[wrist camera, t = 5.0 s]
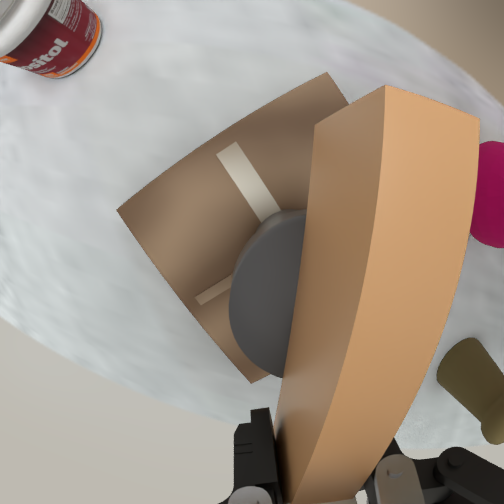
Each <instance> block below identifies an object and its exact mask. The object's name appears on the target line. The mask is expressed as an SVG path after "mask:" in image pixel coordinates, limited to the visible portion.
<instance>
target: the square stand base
mask: <svg viewBox="0 0 504 504" xmlns="http://www.w3.org/2000/svg"><path fill="white" fill-rule="evenodd" d="M348 105H349V104H348V102H347V101H346V99H345V98H344V96H343V94H342V93H341V91H340V90H339V88H338V87H337V85H336V84H335V83H334V81H333V80H332V78H331V77H330V75H329V74H328V72H326V73H324V74H322V75H320V76H318V77H316V78H314V79H312V80H310V81H308V82H306V83H304V84H302V85H301V86H299V87H297V88H295V89H293V90H291V91H289V92H288V93H286V94H284V95H282V96H280V97H279V98H277V99H275V100H273V101H272V102H270V103H268V104H266V105H265V106H263V107H261V108H260V109H258V110H256V111H254V112H253V113H251V114H249V115H248V116H246V117H245V118H243V119H241V120H240V121H238V122H237V123H235V124H233V125H232V126H230V127H229V128H227V129H225V130H224V131H222V132H221V133H219V134H218V135H216V136H215V137H213V138H212V139H210V140H209V141H207V142H206V143H204V144H203V145H201V146H200V147H198V148H197V149H195V150H194V151H193V152H191V153H190V154H188V155H187V156H185V157H184V158H183V159H181V160H180V161H178V162H177V163H176V164H174V165H173V166H172V167H170V168H169V169H168V170H166V171H165V172H163V173H162V174H161V175H159V176H158V177H157V178H156V179H154V180H153V181H152V182H150V183H149V184H148V185H146V186H145V187H144V188H143V189H141V190H140V191H139V192H138V193H136V194H135V195H134V196H132V197H131V198H130V199H129V200H128V201H126V202H125V203H124V204H123V205H121V206H120V207H119V208H118V209H117V212H118V213H119V215H120V216H121V218H122V219H123V221H124V222H125V224H126V225H127V227H128V228H129V230H130V231H131V233H132V234H133V235H134V237H135V238H136V240H137V241H138V243H139V244H140V245H141V247H142V248H143V250H144V251H145V253H146V254H147V255H148V257H149V258H150V259H151V261H152V262H153V264H154V265H155V266H156V268H157V269H158V270H159V272H160V273H161V274H162V276H163V277H164V279H165V280H166V281H167V283H168V284H169V285H170V286H171V288H172V289H173V290H174V292H175V293H176V294H177V296H178V297H179V298H180V299H181V301H182V302H183V303H184V305H185V306H186V307H187V308H188V310H189V311H190V312H191V313H192V315H193V316H194V317H195V318H196V320H197V321H198V322H199V323H200V325H201V326H202V327H203V328H204V330H205V331H206V332H207V333H208V334H209V336H210V337H211V338H212V339H213V340H214V342H215V343H216V344H217V345H218V346H219V348H220V349H221V350H222V351H223V352H224V353H225V355H226V356H227V357H228V358H229V359H230V360H231V362H232V363H233V364H234V365H235V366H236V367H237V368H238V370H239V371H240V372H241V373H242V374H243V375H244V376H245V377H246V378H247V380H248V381H249V382H250V383H254V382H256V381H258V380H260V379H262V378H264V377H266V376H268V375H270V373H268V372H266V371H264V370H263V369H261V368H259V367H258V366H257V365H255V364H254V363H253V362H252V361H251V360H250V359H249V358H248V357H247V356H246V355H245V354H244V353H243V351H242V350H241V349H240V347H239V346H238V344H237V342H236V340H235V338H234V336H233V333H232V330H231V326H230V320H229V298H230V291H231V283H232V276H233V271H234V267H235V264H236V261H237V259H238V257H239V254H240V253H241V251H242V249H243V248H244V246H245V244H246V243H247V242H248V241H249V239H250V238H251V237H252V236H253V235H254V234H255V233H256V232H257V231H258V230H259V229H260V228H261V227H263V226H264V225H266V224H267V223H268V222H270V221H272V220H273V219H275V218H277V217H279V216H281V215H284V214H287V213H289V212H293V211H297V210H303V209H307V205H308V196H309V186H310V176H311V165H312V153H313V141H314V128H315V124H317V123H319V122H320V121H322V120H324V119H325V118H327V117H329V116H330V115H332V114H334V113H336V112H337V111H339V110H341V109H342V108H344V107H346V106H348Z"/></svg>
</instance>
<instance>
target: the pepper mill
mask: <svg viewBox="0 0 504 504" xmlns="http://www.w3.org/2000/svg"><path fill="white" fill-rule="evenodd" d="M470 233H471V234H472V236H473V237H474V238H476V239H477V240H478V241H479V242H481V243H483V244H485V245H489V246H492V247H496V248H504V143H502V142H496V141H488V142H485V143H481V144H479V159H478V172H477V183H476V192H475V200H474V207H473V214H472V220H471V226H470Z"/></svg>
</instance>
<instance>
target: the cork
mask: <svg viewBox="0 0 504 504" xmlns="http://www.w3.org/2000/svg"><path fill="white" fill-rule="evenodd" d="M437 381H438V382H439V384H440V385H441V386H443V387H444V388H445V389H446V390H447V391H448V392H449V393H450V394H451V395H452V396H453V397H454V398H456V399H457V400H458V401H459V402H460V403H461V404H462V405H463V406H464V407H465V408H466V409H467V410H468V411H470V412H471V413H472V414H473V415H474V416H475V417H476V418H477V419H478V420H479V421H480V422H481V431H482V434H483V436H484V438H485V439H486V441H488V442H489V443H490V444H494V445H498V444H501V443H504V375H503V373H502V372H501V370H500V369H499V367H498V366H497V365H496V363H495V362H494V361H493V359H492V358H491V356H490V355H489V354H488V352H487V351H486V350H485V348H484V347H483V346H482V344H481V343H480V342H479V341H478V340H477V339H475V338H467V339H464V340H462V341H460V342H459V343H457V344H456V345H455V346H454V347H453V348H452V349H451V350H450V351H448V353H447V354H446V355H445V357H444V358H443V359H442V361H441V363H440V365H439V367H438V371H437Z"/></svg>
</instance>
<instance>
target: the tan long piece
mask: <svg viewBox="0 0 504 504" xmlns="http://www.w3.org/2000/svg"><path fill="white" fill-rule="evenodd" d="M479 135H480V119H479V118H477V117H474V116H472V115H470V114H468V113H465V112H463V111H461V110H458V109H456V108H453V107H451V106H448V105H446V104H443V103H440V102H438V101H435V100H432V99H429V98H426V97H423V96H421V95H418V94H414V93H411V92H408V91H405V90H402V89H398V88H395V87H392V86H388V85H384V86H382V87H380V88H378V89H376V90H375V91H373V92H371V93H369V94H367V95H365V96H364V97H362V98H360V99H358V100H356V101H355V102H353V103H351V104H349V105H348V106H346V107H344V108H342V109H341V110H339V111H337V112H336V113H334V114H332V115H330V116H329V117H327V118H325V119H324V120H322V121H320V122H319V123H317V124H315V128H314V141H313V153H312V165H311V176H310V186H309V196H308V205H307V209H303V210H297V211H293V212H289V213H287V214H284V215H281V216H279V217H277V218H275V219H273V220H272V221H270V222H268V223H267V224H266V225H264V226H263V227H261V228H260V229H259V230H258V231H257V232H256V233H255V234H254V235H253V236H252V237H251V238H250V239H249V241H248V242H247V243H246V244H245V246H244V248H243V249H242V251H241V253H240V254H239V257H238V259H237V261H236V264H235V267H234V271H233V276H232V283H231V291H230V298H229V320H230V326H231V330H232V333H233V336H234V338H235V340H236V342H237V344H238V346H239V347H240V349H241V350H242V351H243V353H244V354H245V355H246V356H247V357H248V358H249V359H250V360H251V361H252V362H253V363H254V364H255V365H257V366H258V367H259V368H261V369H263V370H264V371H266V372H268V373H270V374H272V375H275V376H277V377H280V378H283V380H282V385H281V390H280V396H279V401H278V406H277V411H276V416H275V421H274V426H273V427H274V434H275V440H276V448H277V456H278V464H279V472H280V480H281V488H282V496H283V504H357V501H356V498H355V495H356V494H357V492H358V491H359V490H360V488H361V487H362V486H363V484H364V483H365V481H366V480H367V479H368V477H369V476H370V474H371V473H372V471H373V470H374V468H375V467H376V465H377V464H378V462H379V461H380V459H381V457H382V456H383V454H384V453H385V451H386V449H387V448H388V446H389V445H390V443H391V441H392V439H393V438H394V436H395V434H396V433H397V431H398V429H399V427H400V425H401V424H402V422H403V420H404V418H405V416H406V414H407V412H408V410H409V408H410V406H411V405H412V403H413V401H414V398H415V396H416V394H417V392H418V390H419V388H420V386H421V384H422V382H423V379H424V377H425V375H426V373H427V370H428V368H429V366H430V363H431V361H432V358H433V356H434V353H435V351H436V348H437V346H438V343H439V340H440V338H441V335H442V332H443V329H444V326H445V323H446V321H447V318H448V315H449V311H450V308H451V305H452V302H453V298H454V295H455V292H456V288H457V284H458V281H459V277H460V273H461V269H462V265H463V261H464V256H465V252H466V247H467V242H468V237H469V232H470V226H471V220H472V214H473V207H474V200H475V192H476V183H477V172H478V159H479Z"/></svg>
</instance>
